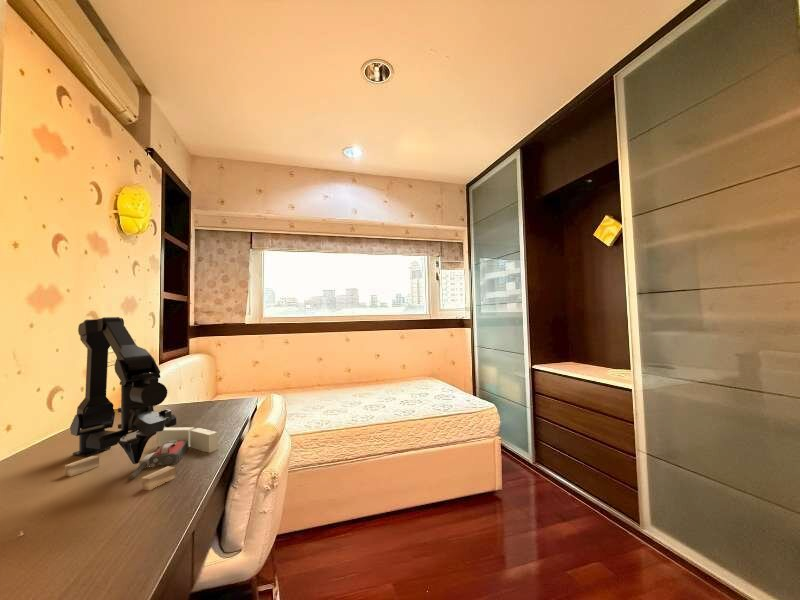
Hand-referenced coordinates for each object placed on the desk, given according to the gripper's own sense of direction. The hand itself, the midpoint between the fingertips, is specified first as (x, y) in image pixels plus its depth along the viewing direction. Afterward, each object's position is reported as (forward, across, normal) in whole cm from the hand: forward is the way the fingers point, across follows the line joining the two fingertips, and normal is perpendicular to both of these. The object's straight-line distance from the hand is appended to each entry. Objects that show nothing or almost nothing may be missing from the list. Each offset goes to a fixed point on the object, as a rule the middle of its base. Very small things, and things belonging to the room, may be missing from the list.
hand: (135, 463), depth 87 cm
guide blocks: (+2, -4, 0) cm, 4 cm away
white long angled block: (+2, +15, 0) cm, 15 cm away
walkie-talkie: (+2, +5, -2) cm, 6 cm away
